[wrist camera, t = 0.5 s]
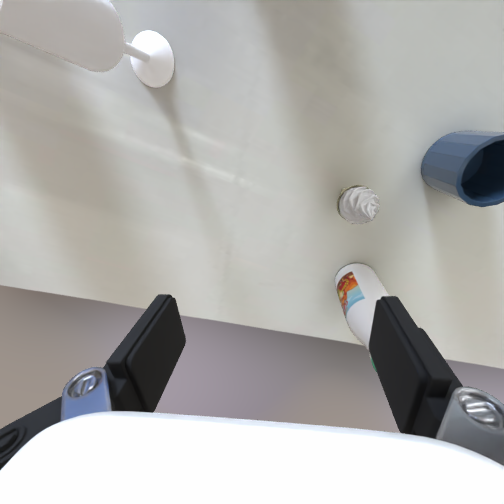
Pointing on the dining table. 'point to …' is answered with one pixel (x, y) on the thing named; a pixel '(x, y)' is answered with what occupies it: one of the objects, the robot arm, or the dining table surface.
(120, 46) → the champagne flute
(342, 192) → the ice cream cone
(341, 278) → the milk bottle
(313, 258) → the dining table surface
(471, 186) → the tumbler
